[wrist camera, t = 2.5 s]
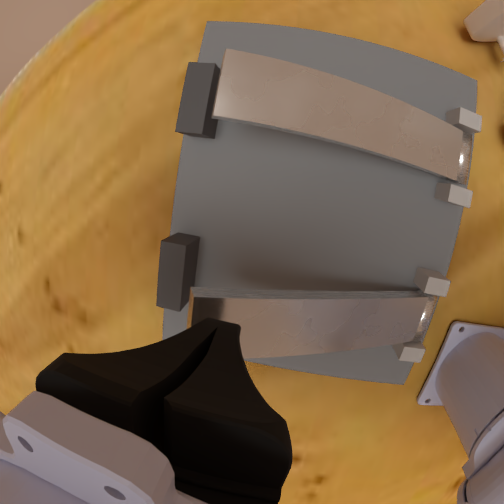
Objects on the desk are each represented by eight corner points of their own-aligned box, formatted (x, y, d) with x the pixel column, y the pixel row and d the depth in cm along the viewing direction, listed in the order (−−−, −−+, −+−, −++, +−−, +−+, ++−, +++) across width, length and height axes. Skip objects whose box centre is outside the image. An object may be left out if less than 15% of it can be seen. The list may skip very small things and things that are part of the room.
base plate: (464, 86, 16) (496, 71, 12) (397, 370, 22) (412, 406, 18) (214, 32, 18) (195, 3, 14) (172, 327, 24) (147, 357, 19)
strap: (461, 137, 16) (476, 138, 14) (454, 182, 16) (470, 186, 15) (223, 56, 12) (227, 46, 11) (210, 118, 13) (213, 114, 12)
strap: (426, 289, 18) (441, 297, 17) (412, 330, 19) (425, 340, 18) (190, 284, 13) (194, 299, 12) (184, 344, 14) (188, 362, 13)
